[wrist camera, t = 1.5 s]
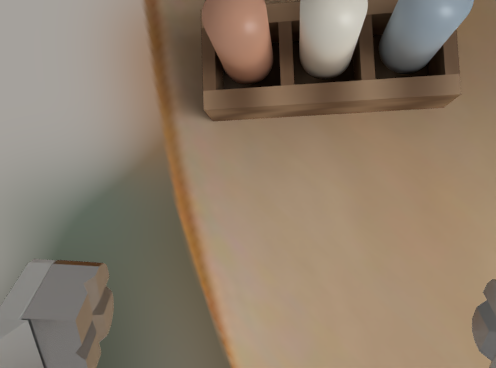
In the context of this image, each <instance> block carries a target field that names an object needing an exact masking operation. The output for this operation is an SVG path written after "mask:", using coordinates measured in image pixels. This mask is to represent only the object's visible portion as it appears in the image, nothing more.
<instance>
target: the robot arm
mask: <svg viewBox="0 0 496 368" xmlns="http://www.w3.org/2000/svg"><path fill="white" fill-rule="evenodd" d="M108 278H109V273H108V269H107V265H106V264H104V263H96V262H82V261H67V260H57V261H56V260H44V259H33V260H32V261H30V262H29V263H28V264H27V265H26V267H25V268H24V270H23V271H22V273H21V274H20V276H19V277H18V279H17V281H16V282H15V284H14V285H13V287H12V288H11V290H10V291H9V293H8V295H7V296H6V298H5V299H4V301H3V302H2V304H1V305H0V368H96V366H97V364H98V361H99V358H100V355H101V350H100V345H99V342H100V341H101V340H102V339H103V338H104V337H106V336H107V335H108V332H109V329H110V326H111V322H112V316H113V310H114V308H113V306H114V305H113V295H112V291H111V290H110V289H109V288H108V287H107V286H106V283H107V281H108ZM483 293H484V295H485V297H486V299H487V300H486V301H485V302H483V303H482V304H481V305H479V306H478V307H477V308H476V310H475V313H474V316H473V318H472V332H473V336H474V340H475V343H476V345H477V347H478V349H479V351H480V352H481V353H482V354H483V355H485V356H486V357H487V358H488V359H489V360H491V364H490V367H489V368H496V279H492V280H491V281H490V282H489V283H487V285H486V287H485V290H484V292H483Z"/></svg>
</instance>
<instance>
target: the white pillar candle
mask: <svg viewBox="0 0 496 368" xmlns="http://www.w3.org/2000/svg"><path fill="white" fill-rule="evenodd" d="M367 9H368V0H301V1H300V39H299V58H300V62H301V65H302V67H303V68H304V70H305V71H306V72H307V73H308V74H309V75H311V76H313V77H315V78H318V79H332V78H335V77H337V76H339V75H340V74H342V73H343V72H344V71H345V70H346V69H347V67H348V66H349V64H350V61H351V58H352V55H353V52H354V49H355V46H356V43H357V40H358V37H359V34H360V31H361V28H362V26H363V23H364V20H365V17H366V14H367Z"/></svg>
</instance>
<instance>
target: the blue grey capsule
mask: <svg viewBox="0 0 496 368" xmlns="http://www.w3.org/2000/svg"><path fill="white" fill-rule="evenodd" d="M473 2H474V0H398V2H397V4H396V6H395V9H394V11H393V13H392V15H391V17H390V19H389V22H388V24H387V26H386V28H385V30H384V32H383V35H382V37H381V39H380V42H379V48H378V50H379V56H380V58H381V60H382V62H383V63H384V65H385V66H386V67H387V68H389V69H390V70H392V71H394V72H396V73H400V74H410V73H414V72H417V71H419V70H421V69H422V68H423V67H425V66H426V64H427V63H428V62H429V61H430V60H431V59H432V57H433V56H434V55H435V54H436V53H437V51H438V50H439V49H440V48H441V47H442V45H443V44H444V43H445V42H446V41H447V39H448V38H449V37H450V36H451V35H452V33H453V32H454V31H455V30H456V29H457V27H458V26H459V25H460V24H461V23H462V21H463V20H464V19H465V18H466V17H467V15H468V14H469V12H470V10H471V8H472V6H473Z"/></svg>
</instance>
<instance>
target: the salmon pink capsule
mask: <svg viewBox="0 0 496 368" xmlns="http://www.w3.org/2000/svg"><path fill="white" fill-rule="evenodd" d="M202 22H203V26H204V28H205V30H206V32H207V34H208V36H209V39H210V41H211V43H212V45H213V47H214V49H215V51H216V53H217V55H218V57H219V59H220V61H221V63H222V65H223V67H224V69H225V72H226V73H227V75H228V76H229V77H230V78H231V79H232V80H233V81H235V82H237V83H240V84H244V85H250V84H255V83H258V82H260V81H261V80H263V79H264V78H265V77H266V76H267V75H268V74H269V72H270V71H271V69H272V66H273V50H272V43H271V36H270V29H269V23H268V16H267V9H266V4H265V1H264V0H206V1H205V3H204V6H203V9H202Z"/></svg>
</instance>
